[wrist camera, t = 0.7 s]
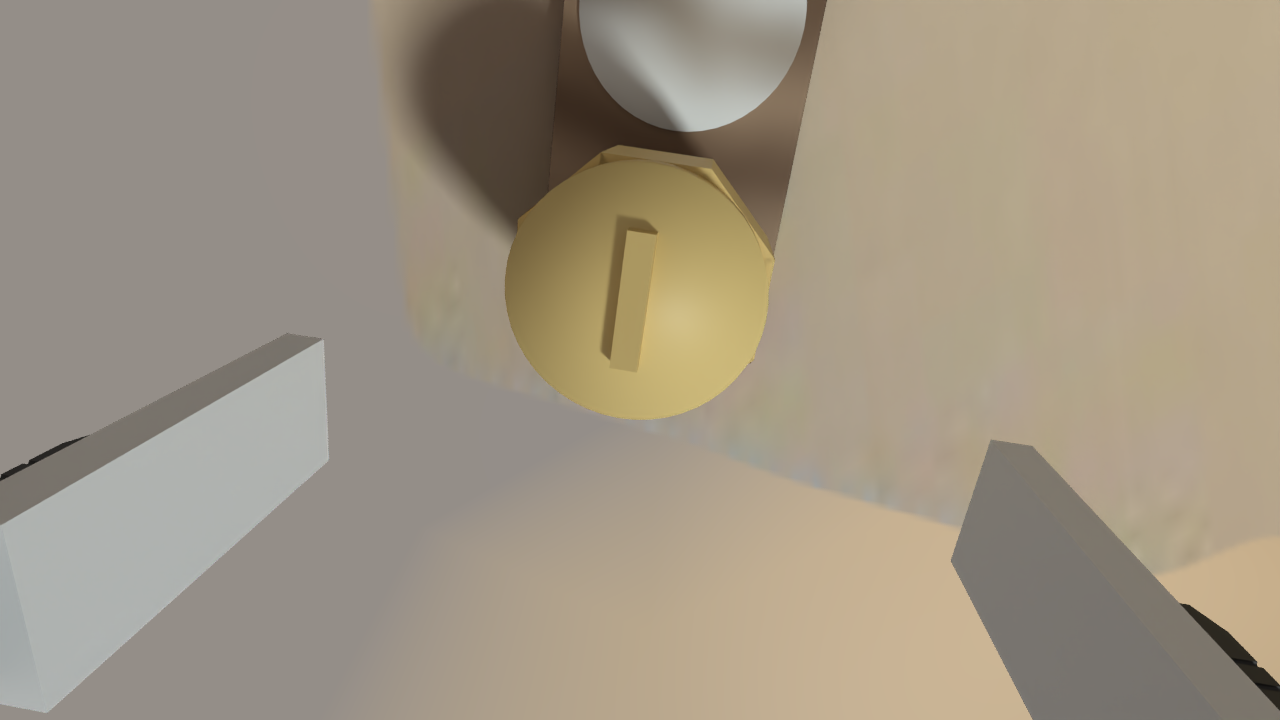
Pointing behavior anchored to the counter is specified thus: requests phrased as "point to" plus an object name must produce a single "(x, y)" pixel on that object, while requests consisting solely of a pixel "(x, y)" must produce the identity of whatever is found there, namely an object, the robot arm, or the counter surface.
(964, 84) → the counter surface
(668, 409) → the cap
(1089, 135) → the counter surface
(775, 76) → the post board
